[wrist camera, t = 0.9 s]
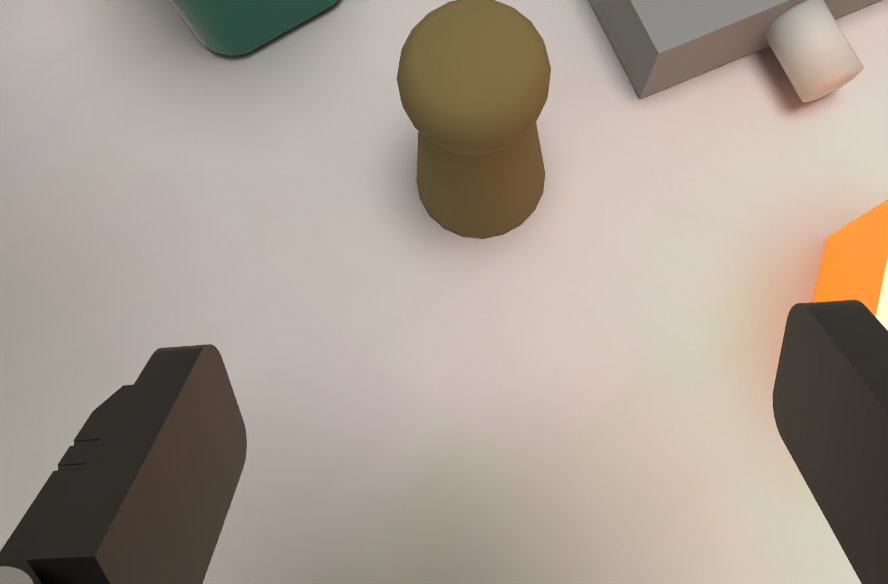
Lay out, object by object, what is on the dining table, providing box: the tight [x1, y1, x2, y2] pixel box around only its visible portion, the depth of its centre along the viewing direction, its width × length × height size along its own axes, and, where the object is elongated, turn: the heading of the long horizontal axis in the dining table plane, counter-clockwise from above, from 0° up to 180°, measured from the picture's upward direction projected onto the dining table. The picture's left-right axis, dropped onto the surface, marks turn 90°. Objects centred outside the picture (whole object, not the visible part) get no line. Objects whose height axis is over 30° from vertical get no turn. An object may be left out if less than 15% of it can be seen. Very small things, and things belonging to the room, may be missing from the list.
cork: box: [397, 0, 551, 239], centre depth 27 cm, size 6×6×11 cm
